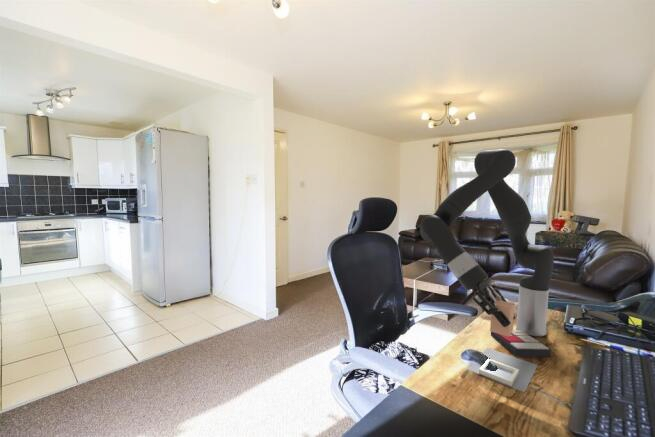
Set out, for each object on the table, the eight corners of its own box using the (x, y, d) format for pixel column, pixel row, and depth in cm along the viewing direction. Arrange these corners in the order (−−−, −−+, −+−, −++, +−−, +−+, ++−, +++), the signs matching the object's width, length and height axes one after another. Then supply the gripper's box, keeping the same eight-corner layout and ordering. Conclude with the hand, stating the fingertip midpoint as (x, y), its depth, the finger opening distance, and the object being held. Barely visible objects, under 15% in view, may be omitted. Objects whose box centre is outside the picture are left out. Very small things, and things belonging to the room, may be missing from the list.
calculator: (520, 328, 109) (551, 347, 94) (520, 340, 109) (551, 361, 94) (490, 328, 109) (516, 346, 94) (490, 339, 109) (516, 360, 94)
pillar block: (494, 326, 87) (496, 299, 86) (512, 331, 84) (514, 303, 83) (490, 331, 84) (491, 303, 83) (508, 336, 80) (510, 307, 80)
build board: (486, 351, 99) (487, 344, 99) (537, 368, 89) (538, 361, 89) (467, 373, 86) (467, 365, 86) (523, 396, 76) (524, 387, 76)
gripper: (468, 267, 82) (515, 324, 75) (484, 260, 92) (528, 309, 85) (448, 282, 86) (491, 337, 79) (466, 273, 97) (505, 321, 89)
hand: (510, 322), depth 82 cm, fingers closed on pillar block, 4 cm apart
